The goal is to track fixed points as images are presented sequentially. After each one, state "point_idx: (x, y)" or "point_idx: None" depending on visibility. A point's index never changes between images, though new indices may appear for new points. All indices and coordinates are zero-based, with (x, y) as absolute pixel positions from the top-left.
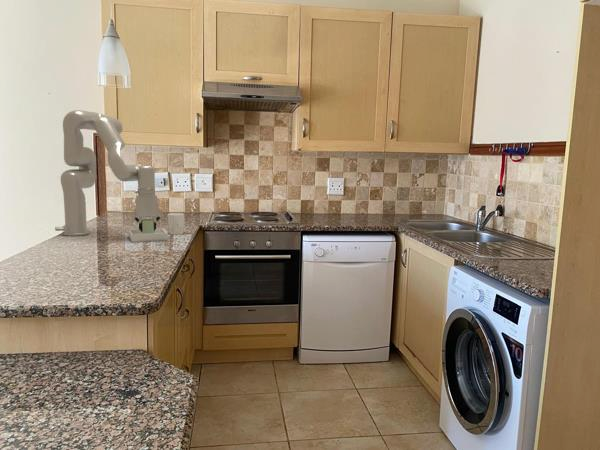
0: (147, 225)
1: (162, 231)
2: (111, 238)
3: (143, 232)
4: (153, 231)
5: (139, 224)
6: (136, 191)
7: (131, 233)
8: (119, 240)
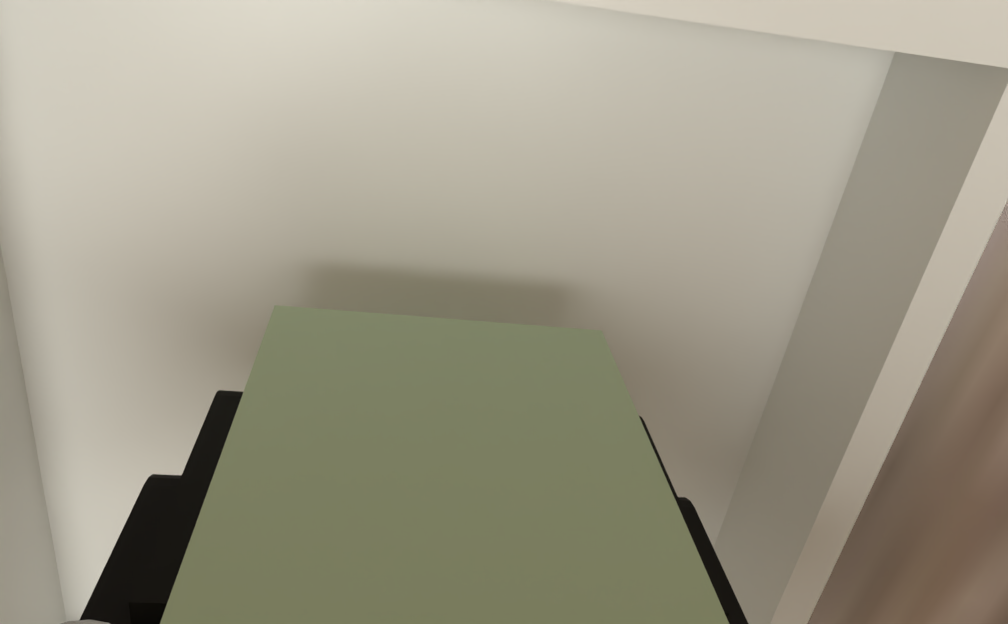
0: (481, 479)
1: (6, 583)
2: (972, 597)
3: (587, 344)
4: (280, 333)
5: (733, 622)
6: None
7: (941, 294)
8: (978, 383)
